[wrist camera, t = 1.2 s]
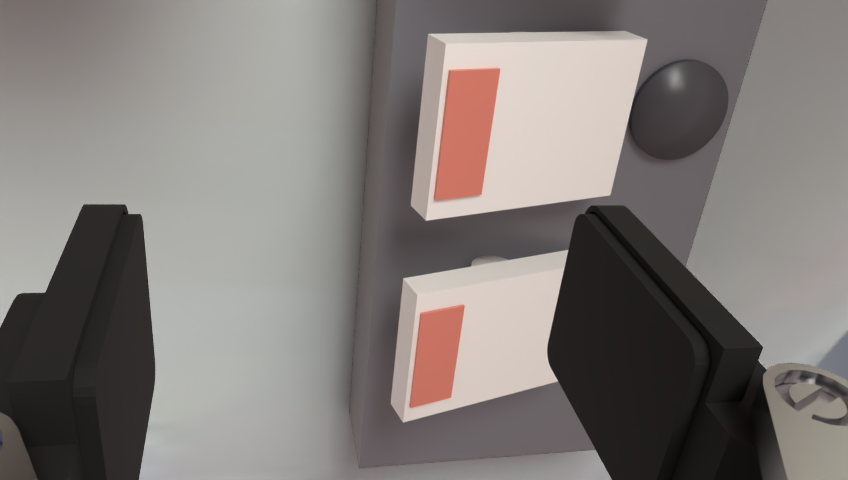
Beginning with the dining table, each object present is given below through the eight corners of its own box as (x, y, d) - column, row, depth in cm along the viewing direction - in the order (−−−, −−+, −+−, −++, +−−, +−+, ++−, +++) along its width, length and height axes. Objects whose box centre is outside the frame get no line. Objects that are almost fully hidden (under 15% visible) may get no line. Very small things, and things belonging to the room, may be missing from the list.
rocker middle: (609, 24, 28) (650, 40, 26) (577, 173, 30) (612, 196, 29) (415, 26, 24) (448, 44, 22) (399, 194, 27) (427, 222, 25)
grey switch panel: (826, -448, 25) (926, -494, 21) (598, 395, 42) (632, 451, 38) (414, -542, 22) (448, -615, 18) (349, 410, 39) (359, 472, 35)
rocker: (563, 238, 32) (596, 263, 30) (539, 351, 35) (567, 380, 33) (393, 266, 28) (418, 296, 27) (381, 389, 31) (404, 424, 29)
